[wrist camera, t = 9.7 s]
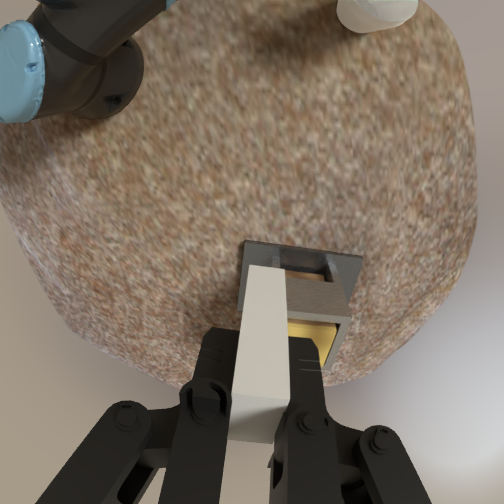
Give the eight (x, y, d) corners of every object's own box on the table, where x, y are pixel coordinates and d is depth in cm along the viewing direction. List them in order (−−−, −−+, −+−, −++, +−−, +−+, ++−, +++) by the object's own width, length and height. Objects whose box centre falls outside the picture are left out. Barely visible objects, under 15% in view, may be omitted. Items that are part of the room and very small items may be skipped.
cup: (382, 48, 35) (416, 34, 24) (324, 31, 34) (341, 8, 24) (388, 0, 30) (420, -23, 20) (331, -17, 30) (349, -49, 20)
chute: (237, 307, 57) (227, 367, 44) (245, 239, 50) (235, 292, 37) (340, 319, 57) (354, 378, 44) (362, 256, 50) (388, 309, 37)
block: (274, 303, 54) (274, 362, 41) (281, 269, 50) (283, 326, 38) (313, 308, 54) (322, 366, 41) (323, 275, 50) (336, 331, 38)
